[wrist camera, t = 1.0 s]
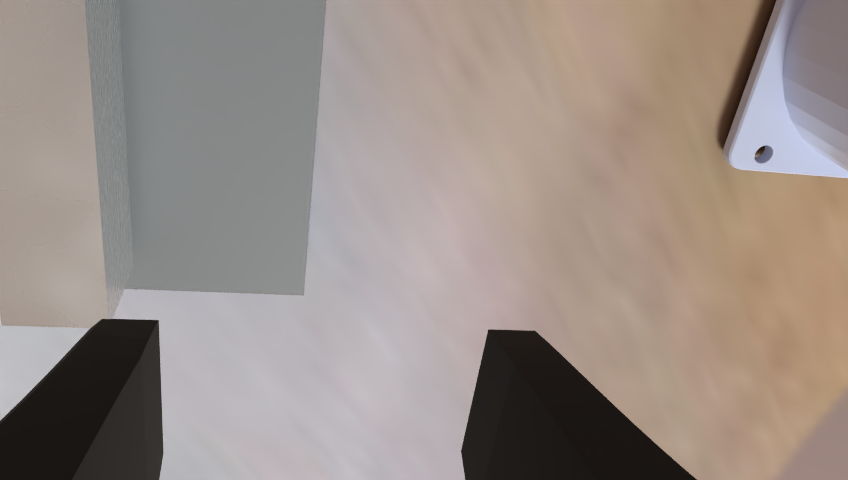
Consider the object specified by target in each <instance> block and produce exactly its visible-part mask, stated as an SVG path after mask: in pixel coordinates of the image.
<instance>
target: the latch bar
mask: <svg viewBox="0 0 848 480" xmlns="http://www.w3.org/2000/svg"><path fill="white" fill-rule="evenodd" d="M132 266H133V254H132V236H131V217H130V198H129V179H128V161H127V142H126V123H125V104H124V86H123V67H122V48H121V30H120V11H119V0H0V316H1V322H2V325H5V326H41V327H77V328H91V327H92V326H94V325H95V324H96V323H97V322H99V321H100V320H101V319H113V317H114V314H115V311H116V309H117V306H118V303H119V301H120V298H121V296H122V293H123V290H124V288H125V285H126V282H127V280H128V277H129V274H130V272H131V269H132Z"/></svg>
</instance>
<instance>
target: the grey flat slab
mask: <svg viewBox="0 0 848 480" xmlns="http://www.w3.org/2000/svg"><path fill="white" fill-rule="evenodd" d="M325 9H326V0H119V11H120V30H121V48H122V67H123V86H124V104H125V123H126V142H127V161H128V179H129V198H130V217H131V236H132V254H133V266H132V269H131V272H130V274H129V277H128V280H127V282H126V285H125V288H124V289H147V290H173V291H200V292H226V293H253V294H280V295H304V285H305V271H306V258H307V245H308V232H309V219H310V206H311V193H312V180H313V167H314V154H315V140H316V127H317V114H318V101H319V88H320V75H321V62H322V49H323V36H324V23H325Z"/></svg>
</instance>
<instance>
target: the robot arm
mask: <svg viewBox="0 0 848 480" xmlns="http://www.w3.org/2000/svg"><path fill="white" fill-rule="evenodd" d="M762 146H765V150H764V151H763V153H762V154H761V155H760V156H758V157H755V153H756V151H757V150H758V149H759V148H760V147H762ZM723 155H724V159H725V160H726V161H727V162H728V163H729V164H730V165H731V166H733V167H734V168H737V169H741V170H753V171H766V172H778V173H791V174H803V175H816V176H828V177H840V178H848V0H776V3H775V6H774V9H773V12H772V14H771V17H770V20H769V23H768V26H767V28H766V31H765V34H764V37H763V39H762V42H761V45H760V48H759V51H758V53H757V56H756V59H755V62H754V65H753V67H752V70H751V73H750V76H749V79H748V81H747V84H746V87H745V90H744V93H743V95H742V98H741V101H740V104H739V106H738V109H737V112H736V115H735V118H734V120H733V123H732V126H731V129H730V132H729V134H728V137H727V140H726V143H725V146H724V150H723ZM754 157H755V158H754ZM461 453H462V460H463V466H464V473H465V480H697V479H695V478H694V477H693V476H692V475H691V474H689V473H688V472H687V471H686V470H685V469H684V468H682V467H681V466H680V465H679V464H678V463H677V462H676V461H674V460H673V459H672V458H671V457H670V456H669V455H668V454H666V453H665V452H664V451H663V450H662V449H661V448H660V447H659V446H657V445H656V444H655V443H654V442H653V441H652V440H651V439H650V438H649V437H647V436H646V435H645V434H644V433H643V432H642V431H641V430H640V429H639V428H638V427H637V426H635V425H634V424H633V423H632V422H631V421H630V420H629V419H628V418H627V417H626V416H625V415H624V414H623V413H622V412H620V411H619V410H618V409H617V408H616V407H615V406H614V405H613V404H612V403H611V402H610V401H609V400H608V399H607V398H606V397H605V396H604V395H603V394H601V393H600V392H599V391H598V390H597V389H596V388H595V387H594V386H593V385H592V384H591V383H590V382H589V381H588V380H587V379H586V378H585V377H584V376H583V375H582V374H581V373H580V372H579V371H578V370H576V369H575V368H574V367H573V366H572V365H571V364H570V363H569V362H568V361H567V360H566V359H565V358H564V357H563V356H562V355H561V354H560V353H559V352H558V351H557V350H556V349H554V348H553V347H552V346H551V345H550V344H549V343H548V342H547V341H546V340H545V339H544V338H542V337H541V336H540V335H539V334H538V333H537V332H536V331H520V330H488V334H487V338H486V343H485V347H484V351H483V356H482V360H481V365H480V369H479V374H478V378H477V383H476V387H475V392H474V396H473V401H472V405H471V410H470V414H469V419H468V423H467V427H466V432H465V436H464V441H463V445H462V450H461ZM162 458H163V431H162V403H161V375H160V347H159V320H129V319H101V320H100V321H99V322H97V323H96V324H95V325H94V326H92V327H91V328H90V329H89V330H88V332H87V333H86V334H85V335H84V336H83V337H82V338H81V339H80V340H79V341H78V342H77V343H76V344H75V345H74V346H73V348H72V349H71V350H70V351H69V352H68V353H67V354H66V355H65V356H64V357H63V358H62V359H61V360H60V361H59V362H58V363H57V364H56V366H55V367H54V368H53V369H52V370H51V371H50V372H49V373H48V374H47V375H46V376H45V377H44V378H43V379H42V380H41V381H40V382H39V383H38V384H37V385H36V386H35V387H34V388H33V389H32V390H31V391H30V392H29V393H28V394H27V395H26V396H25V397H24V398H23V399H22V400H21V401H20V402H19V403H18V404H17V405H16V406H15V407H14V408H13V409H12V410H11V411H10V412H9V413H8V414H7V415H6V416H5V417H4V418H3V419H2V420H1V421H0V480H159V477H160V471H161V464H162Z"/></svg>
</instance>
